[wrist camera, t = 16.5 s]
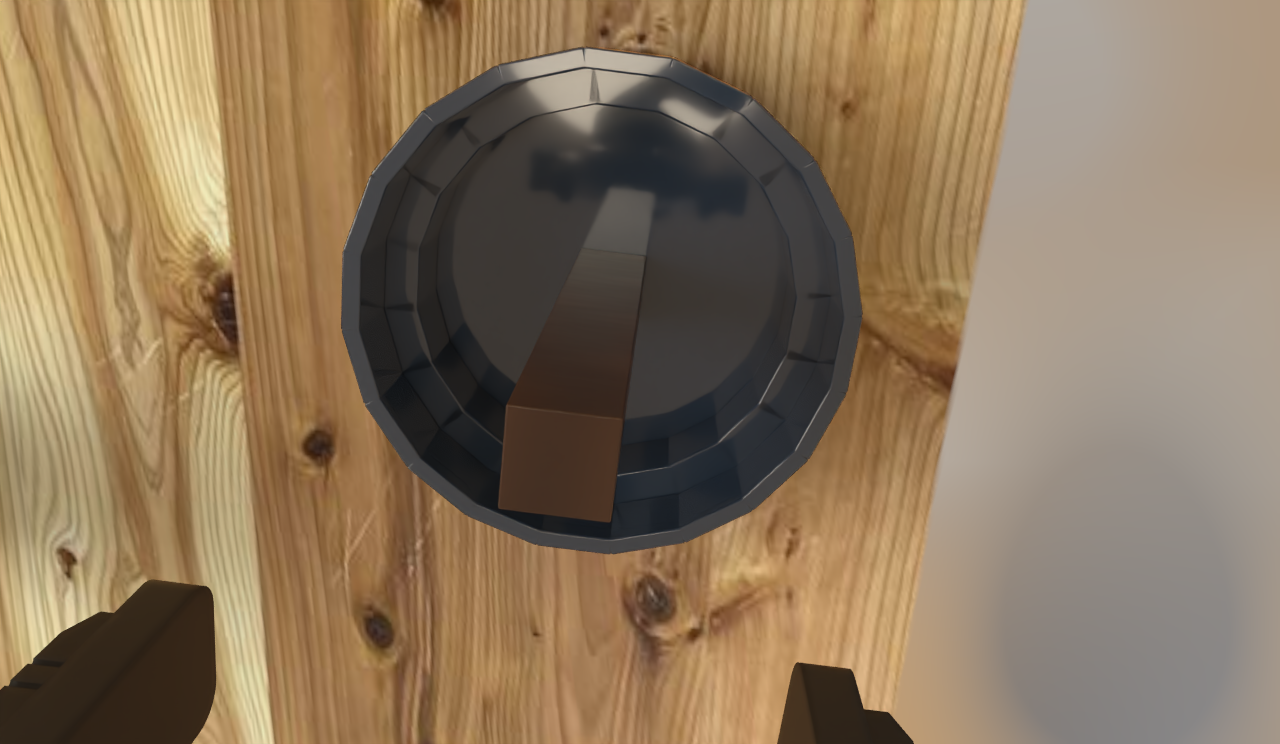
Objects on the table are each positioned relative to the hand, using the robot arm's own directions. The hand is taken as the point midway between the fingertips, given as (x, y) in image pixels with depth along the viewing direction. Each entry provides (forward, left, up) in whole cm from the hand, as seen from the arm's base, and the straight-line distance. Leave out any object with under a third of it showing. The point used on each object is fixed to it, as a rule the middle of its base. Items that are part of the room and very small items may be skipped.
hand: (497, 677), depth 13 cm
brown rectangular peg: (0, 0, -23) cm, 23 cm away
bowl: (0, 0, -24) cm, 24 cm away
